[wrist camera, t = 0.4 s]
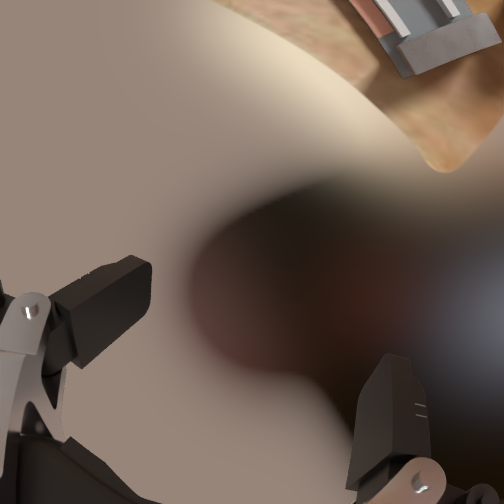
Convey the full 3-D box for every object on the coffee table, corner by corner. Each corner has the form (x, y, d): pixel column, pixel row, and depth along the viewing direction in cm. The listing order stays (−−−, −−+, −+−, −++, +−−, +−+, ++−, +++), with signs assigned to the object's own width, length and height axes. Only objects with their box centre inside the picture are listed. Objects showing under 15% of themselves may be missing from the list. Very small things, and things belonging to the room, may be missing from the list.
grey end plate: (393, 46, 22) (398, 45, 18) (467, 17, 16) (485, 11, 12) (408, 71, 23) (416, 75, 19) (481, 42, 17) (502, 42, 13)
